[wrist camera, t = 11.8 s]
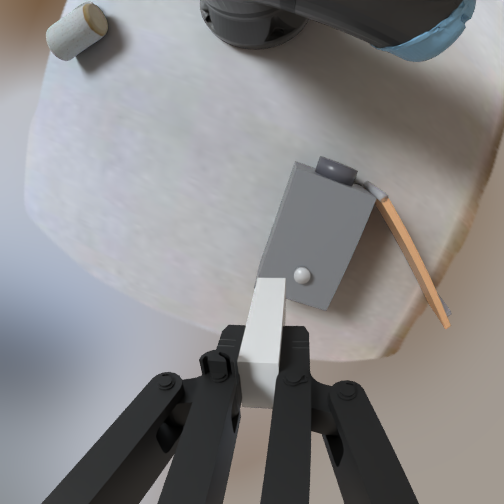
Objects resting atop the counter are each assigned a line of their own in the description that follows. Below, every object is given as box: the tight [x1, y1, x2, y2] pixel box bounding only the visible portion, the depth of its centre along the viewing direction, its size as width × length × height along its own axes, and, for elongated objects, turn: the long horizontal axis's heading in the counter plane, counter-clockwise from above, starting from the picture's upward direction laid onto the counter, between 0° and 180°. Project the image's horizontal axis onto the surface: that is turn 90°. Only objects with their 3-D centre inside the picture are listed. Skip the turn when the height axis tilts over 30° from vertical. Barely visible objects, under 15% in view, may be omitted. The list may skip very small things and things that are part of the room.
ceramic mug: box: [46, 1, 108, 61], centre depth 33 cm, size 11×8×8 cm
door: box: [364, 182, 451, 329], centre depth 40 cm, size 24×2×8 cm, turn 38°
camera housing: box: [254, 156, 376, 311], centre depth 40 cm, size 18×10×9 cm, turn 163°
